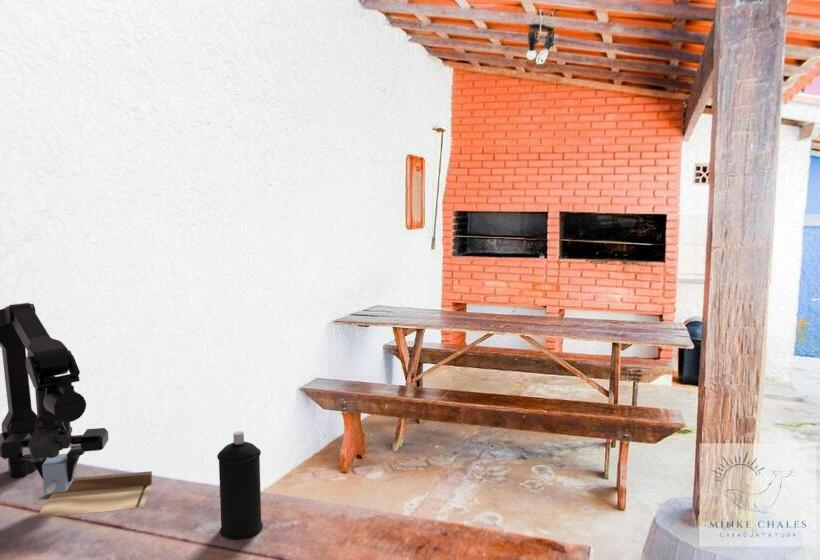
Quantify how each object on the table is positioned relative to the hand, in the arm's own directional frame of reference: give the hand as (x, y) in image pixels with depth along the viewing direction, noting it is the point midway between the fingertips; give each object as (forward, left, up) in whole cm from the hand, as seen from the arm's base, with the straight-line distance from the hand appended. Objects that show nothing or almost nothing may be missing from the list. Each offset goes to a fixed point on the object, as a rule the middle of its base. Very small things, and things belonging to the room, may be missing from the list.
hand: (58, 482), depth 132 cm
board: (-3, +6, -7) cm, 10 cm away
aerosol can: (+13, +36, -7) cm, 39 cm away
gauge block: (+2, 0, -1) cm, 2 cm away
